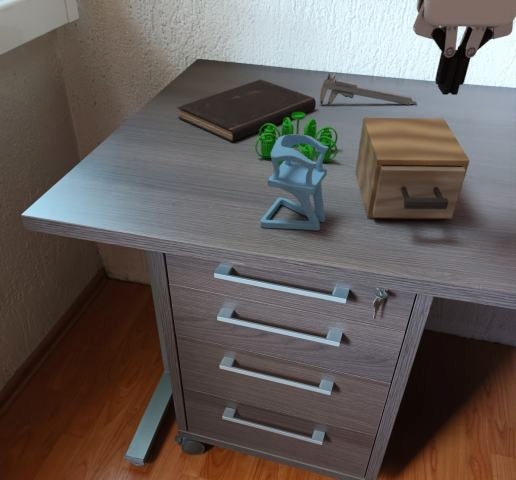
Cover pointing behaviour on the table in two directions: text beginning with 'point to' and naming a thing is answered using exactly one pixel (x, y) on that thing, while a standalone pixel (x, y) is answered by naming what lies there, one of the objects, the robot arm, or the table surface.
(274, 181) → the chair
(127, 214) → the table surface
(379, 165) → the cabinet
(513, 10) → the robot arm
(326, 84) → the caliper
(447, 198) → the drawer
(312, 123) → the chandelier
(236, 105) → the hardcover book
